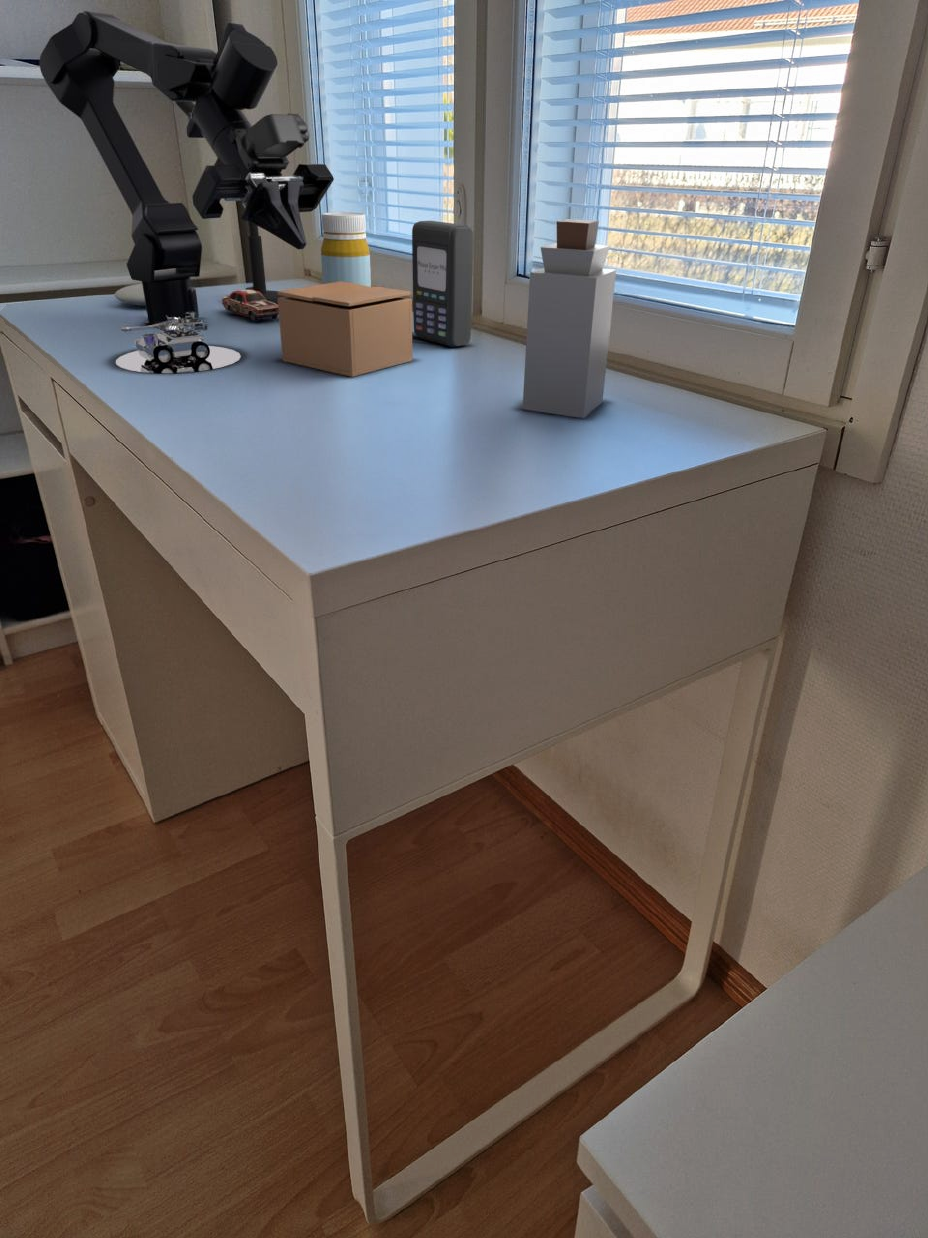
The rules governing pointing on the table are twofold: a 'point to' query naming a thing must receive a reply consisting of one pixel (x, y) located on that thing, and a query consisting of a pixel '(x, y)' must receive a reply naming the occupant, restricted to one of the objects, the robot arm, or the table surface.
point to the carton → (348, 330)
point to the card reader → (442, 282)
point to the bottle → (345, 249)
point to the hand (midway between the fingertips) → (302, 246)
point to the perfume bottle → (569, 323)
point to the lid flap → (320, 290)
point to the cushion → (131, 295)
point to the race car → (250, 305)
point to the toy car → (175, 349)
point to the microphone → (254, 244)
